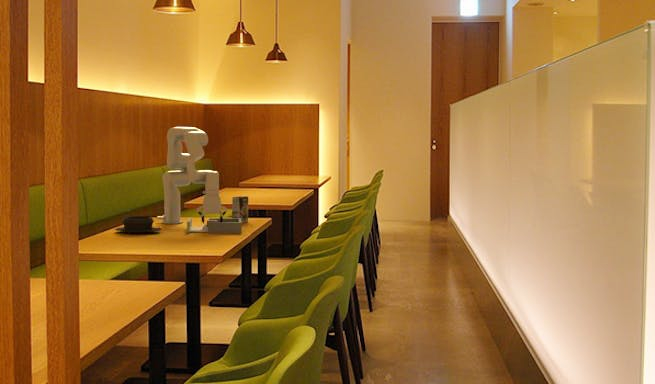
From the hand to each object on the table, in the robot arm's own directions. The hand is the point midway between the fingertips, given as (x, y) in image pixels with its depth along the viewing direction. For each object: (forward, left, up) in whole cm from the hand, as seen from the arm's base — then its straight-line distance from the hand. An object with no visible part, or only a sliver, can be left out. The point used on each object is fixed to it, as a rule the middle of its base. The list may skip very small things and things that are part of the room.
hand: (212, 223), depth 416 cm
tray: (-3, 0, -4) cm, 5 cm away
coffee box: (+16, +36, -4) cm, 40 cm away
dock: (+7, 0, -4) cm, 8 cm away
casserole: (-40, -6, -5) cm, 41 cm away
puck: (0, 0, -3) cm, 3 cm away
